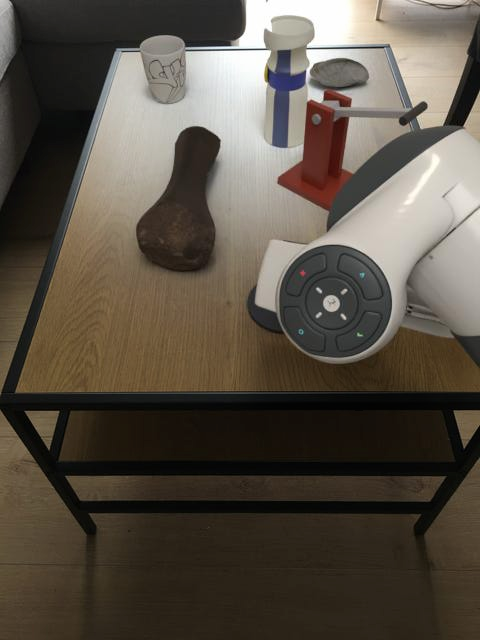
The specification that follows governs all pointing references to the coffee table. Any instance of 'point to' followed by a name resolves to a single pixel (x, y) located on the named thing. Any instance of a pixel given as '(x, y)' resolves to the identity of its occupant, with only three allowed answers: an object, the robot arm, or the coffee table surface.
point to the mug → (165, 67)
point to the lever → (377, 112)
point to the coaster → (263, 315)
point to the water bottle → (287, 79)
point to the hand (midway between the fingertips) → (362, 291)
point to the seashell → (339, 72)
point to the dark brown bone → (183, 207)
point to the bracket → (321, 153)
